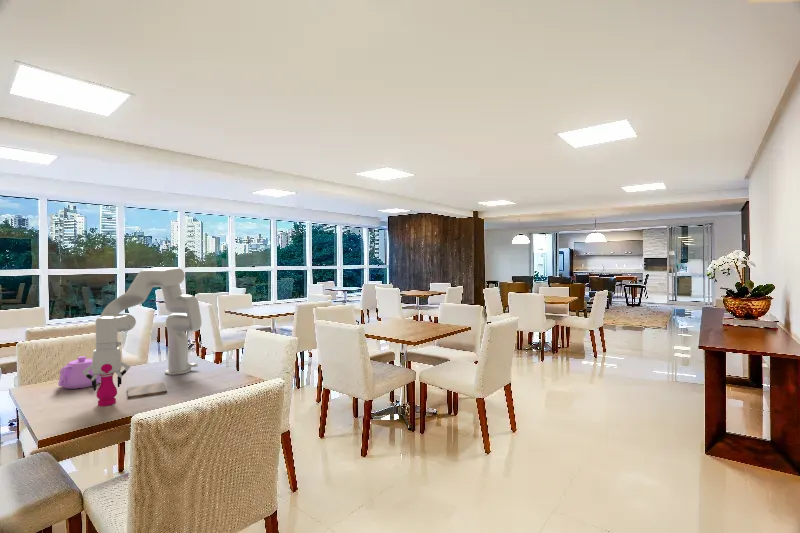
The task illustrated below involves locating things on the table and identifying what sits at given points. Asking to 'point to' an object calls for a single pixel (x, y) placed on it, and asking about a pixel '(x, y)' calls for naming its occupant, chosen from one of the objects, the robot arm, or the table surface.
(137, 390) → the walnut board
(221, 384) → the table surface
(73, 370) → the teapot
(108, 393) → the pepper mill
